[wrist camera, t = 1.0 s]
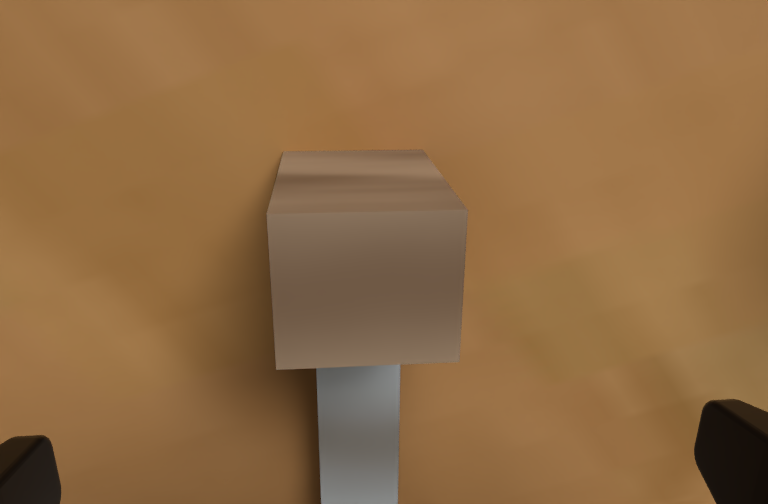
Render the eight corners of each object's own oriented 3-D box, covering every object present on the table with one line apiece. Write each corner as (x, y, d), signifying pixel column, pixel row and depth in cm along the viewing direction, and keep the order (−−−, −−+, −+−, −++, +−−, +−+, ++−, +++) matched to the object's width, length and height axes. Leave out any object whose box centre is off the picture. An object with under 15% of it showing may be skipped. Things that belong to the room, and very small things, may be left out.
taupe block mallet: (411, 558, 24) (438, 726, 18) (304, 566, 23) (298, 739, 18) (422, 149, 18) (468, 209, 13) (283, 151, 18) (266, 214, 12)
